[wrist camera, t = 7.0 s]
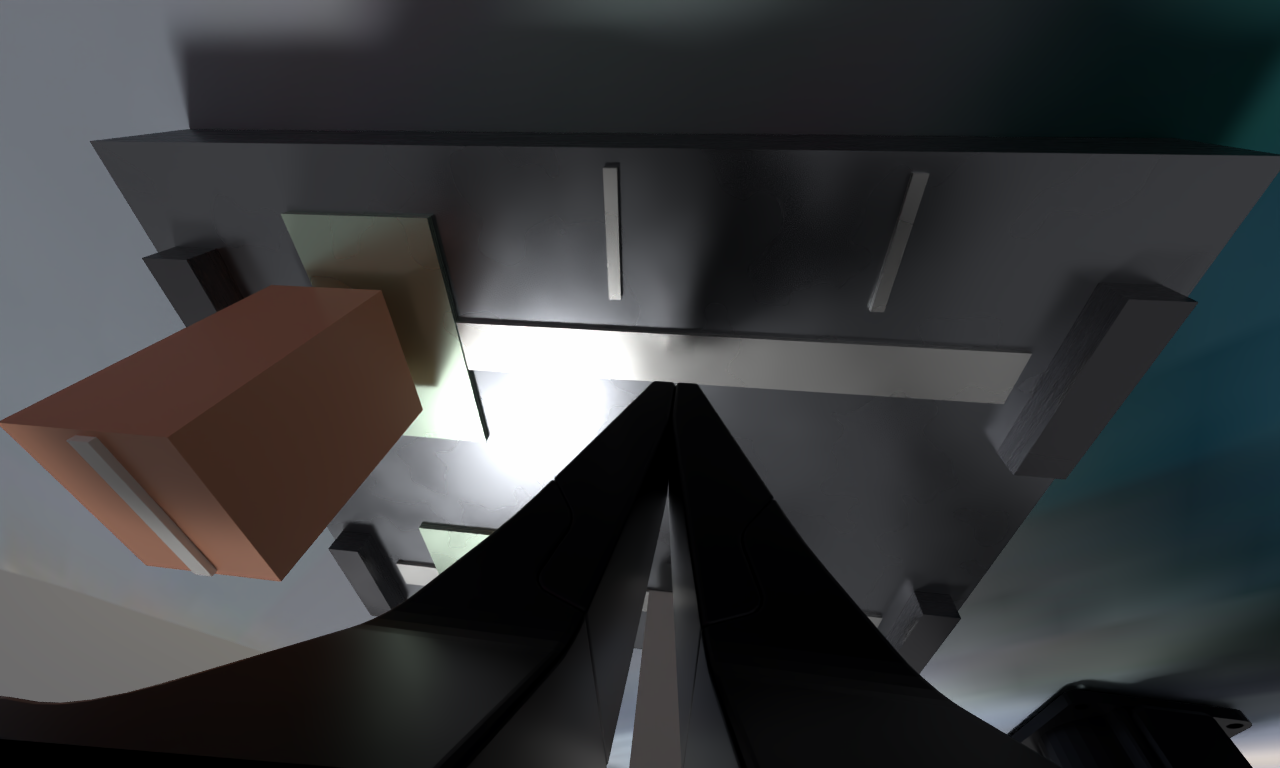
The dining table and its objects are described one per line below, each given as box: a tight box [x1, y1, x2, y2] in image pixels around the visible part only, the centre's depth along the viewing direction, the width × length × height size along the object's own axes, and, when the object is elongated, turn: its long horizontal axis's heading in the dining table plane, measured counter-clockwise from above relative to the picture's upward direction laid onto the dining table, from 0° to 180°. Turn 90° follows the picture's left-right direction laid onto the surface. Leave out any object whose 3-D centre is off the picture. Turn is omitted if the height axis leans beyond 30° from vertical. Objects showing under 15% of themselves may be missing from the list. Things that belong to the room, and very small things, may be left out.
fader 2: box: [629, 591, 681, 768], centre depth 13 cm, size 3×2×4 cm
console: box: [90, 129, 1280, 674], centre depth 13 cm, size 17×20×3 cm
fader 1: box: [0, 285, 423, 581], centre depth 8 cm, size 3×2×4 cm
